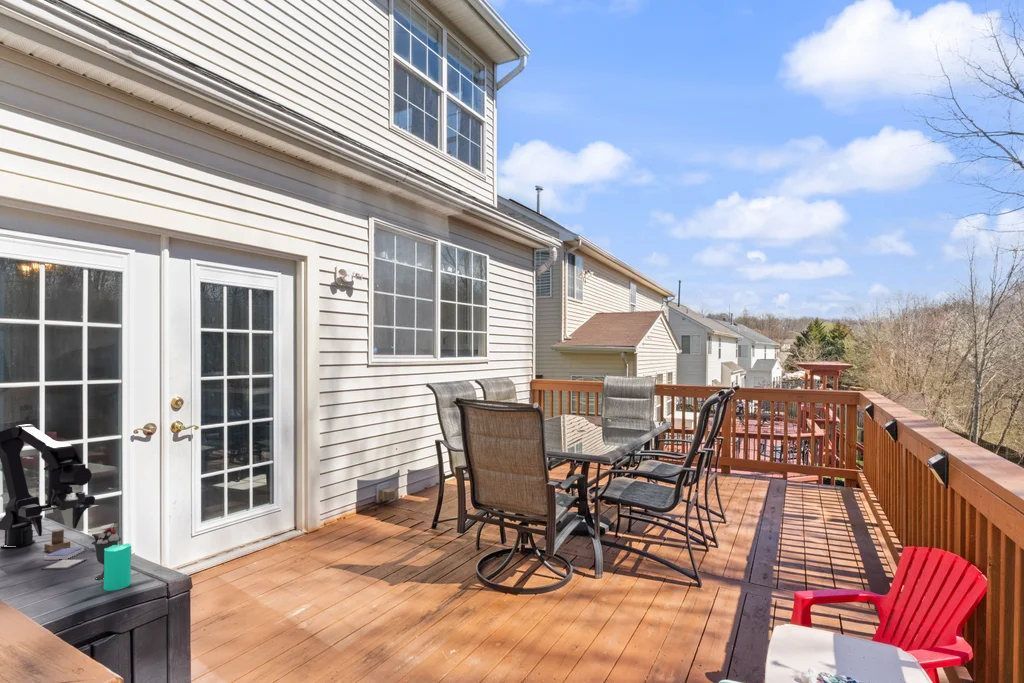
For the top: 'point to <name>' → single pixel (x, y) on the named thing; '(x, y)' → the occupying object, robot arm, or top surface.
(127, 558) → the candle
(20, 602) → the top surface
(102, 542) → the sundae
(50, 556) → the ink pad
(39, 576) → the top surface
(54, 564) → the marked card
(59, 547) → the stamp
